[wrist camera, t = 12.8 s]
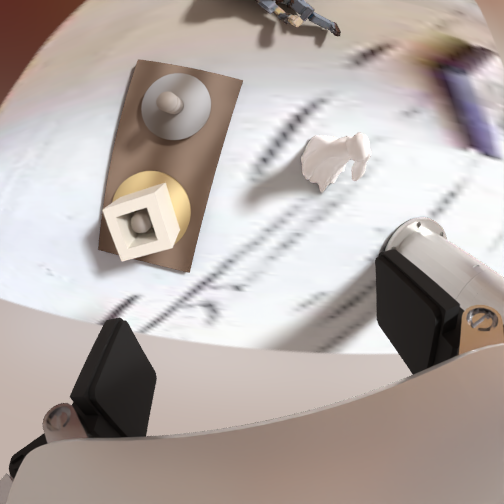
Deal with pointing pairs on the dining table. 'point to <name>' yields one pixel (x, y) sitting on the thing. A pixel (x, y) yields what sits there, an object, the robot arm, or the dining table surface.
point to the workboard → (170, 149)
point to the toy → (301, 7)
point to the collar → (161, 218)
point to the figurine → (334, 158)
